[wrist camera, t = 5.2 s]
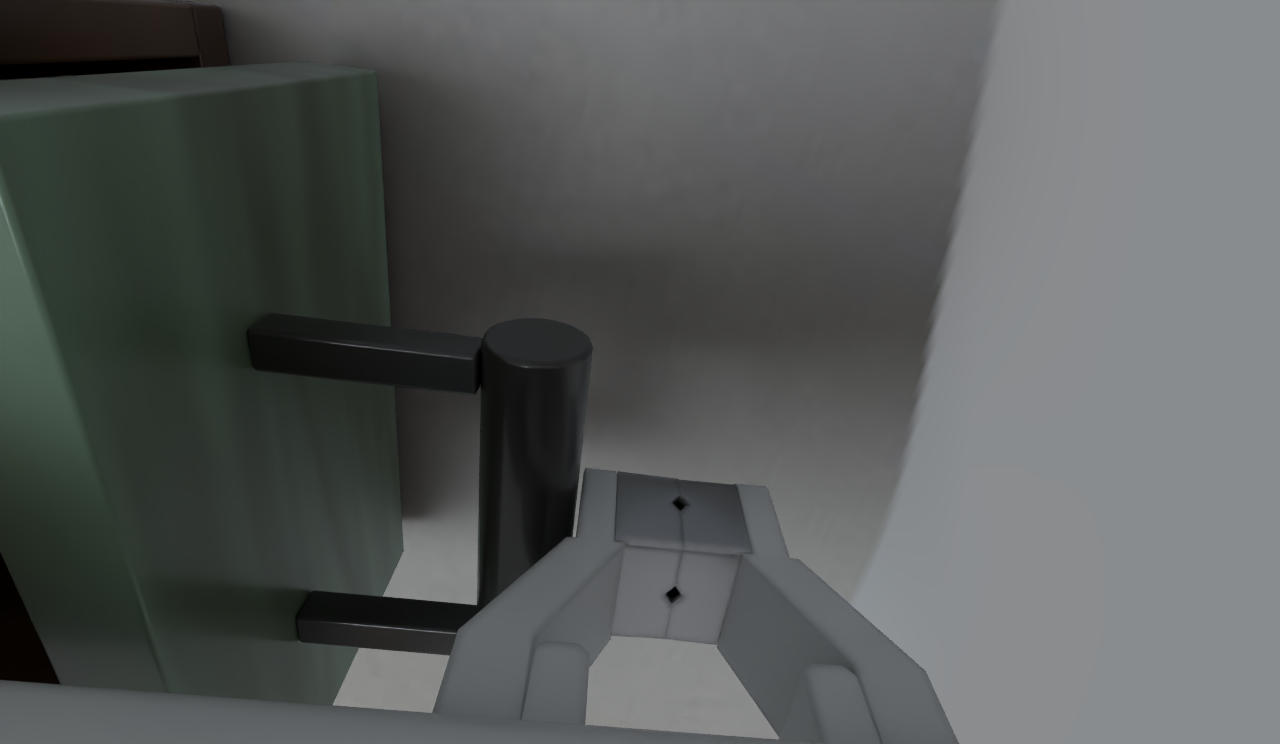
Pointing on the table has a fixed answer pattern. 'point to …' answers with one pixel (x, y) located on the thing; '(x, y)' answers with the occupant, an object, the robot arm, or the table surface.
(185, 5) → the cabinet
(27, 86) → the drawer
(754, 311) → the table surface
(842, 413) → the table surface
